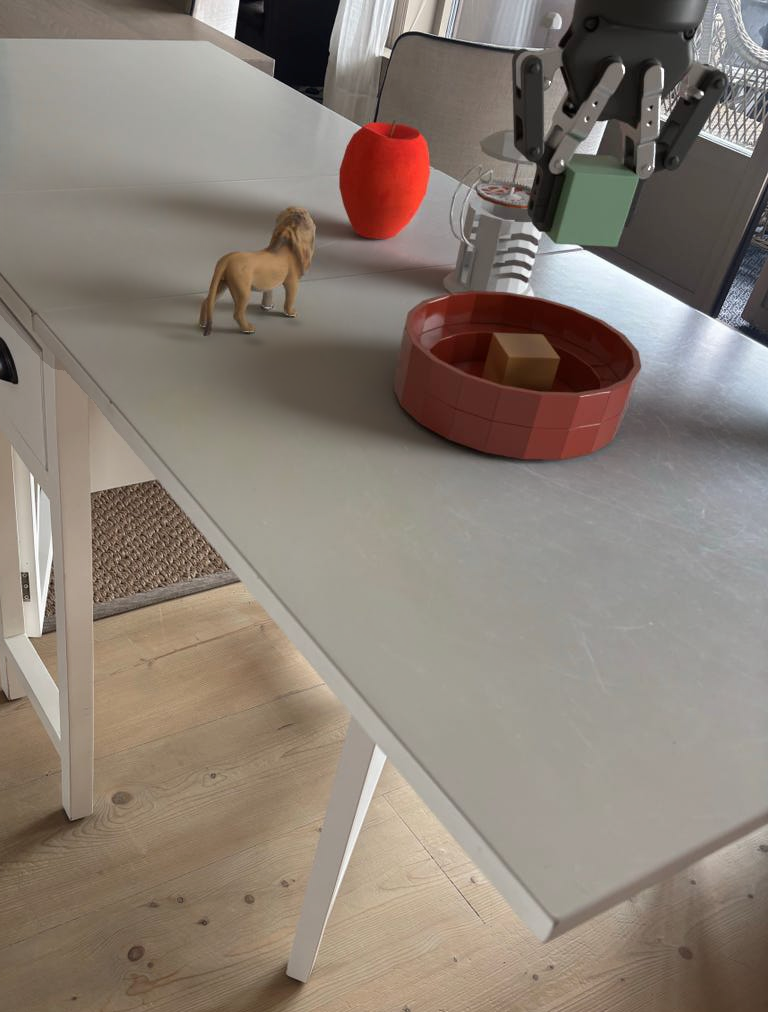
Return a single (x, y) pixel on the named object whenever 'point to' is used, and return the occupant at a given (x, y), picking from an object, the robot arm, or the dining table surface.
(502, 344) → the block
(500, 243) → the french press
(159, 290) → the dining table surface
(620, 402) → the red shallow bowl
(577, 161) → the block
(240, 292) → the lion figurine
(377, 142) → the apple
